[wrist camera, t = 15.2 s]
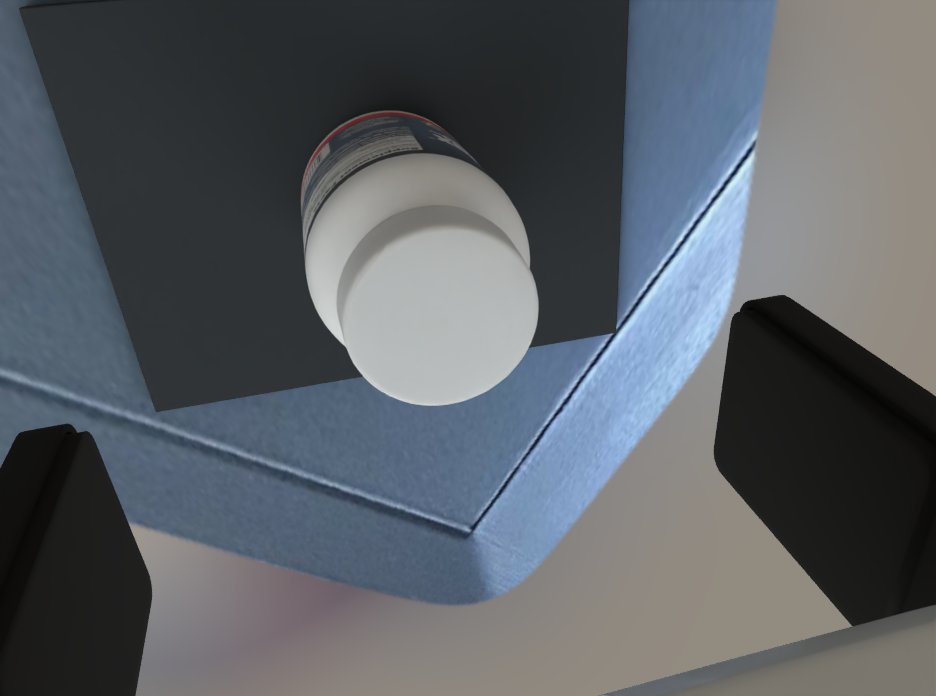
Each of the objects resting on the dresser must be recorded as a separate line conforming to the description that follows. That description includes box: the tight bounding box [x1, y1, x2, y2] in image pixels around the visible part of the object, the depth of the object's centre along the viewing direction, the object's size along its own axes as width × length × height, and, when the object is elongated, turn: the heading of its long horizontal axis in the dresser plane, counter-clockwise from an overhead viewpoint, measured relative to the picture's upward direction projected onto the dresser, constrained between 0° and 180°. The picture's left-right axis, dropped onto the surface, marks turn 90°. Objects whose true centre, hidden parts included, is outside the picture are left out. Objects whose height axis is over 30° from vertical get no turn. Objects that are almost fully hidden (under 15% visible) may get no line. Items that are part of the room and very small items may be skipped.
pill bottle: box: [301, 111, 539, 406], centre depth 18 cm, size 5×5×9 cm
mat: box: [19, 0, 629, 412], centre depth 22 cm, size 16×12×1 cm
